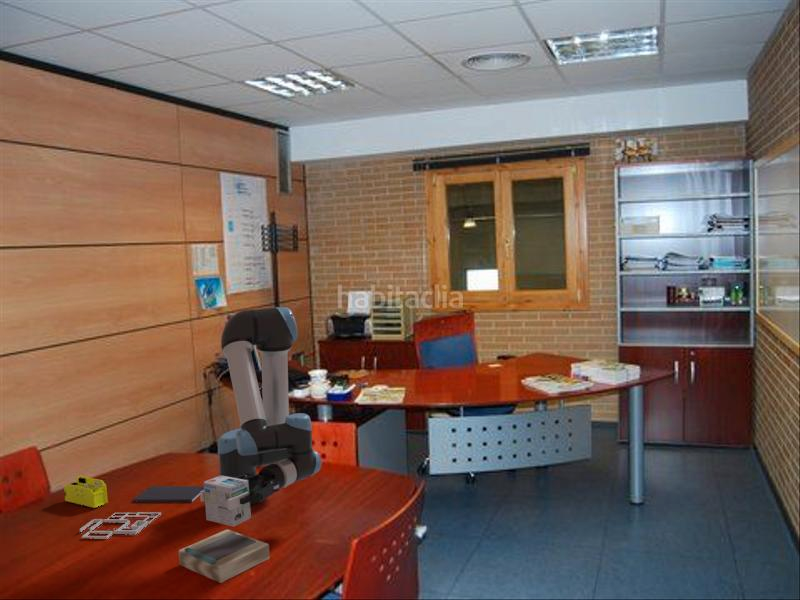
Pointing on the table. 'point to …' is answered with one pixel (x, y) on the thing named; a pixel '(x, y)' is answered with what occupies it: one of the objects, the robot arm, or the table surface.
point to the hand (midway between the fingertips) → (214, 500)
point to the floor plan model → (134, 527)
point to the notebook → (169, 494)
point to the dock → (224, 555)
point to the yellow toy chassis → (86, 492)
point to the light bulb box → (225, 500)
